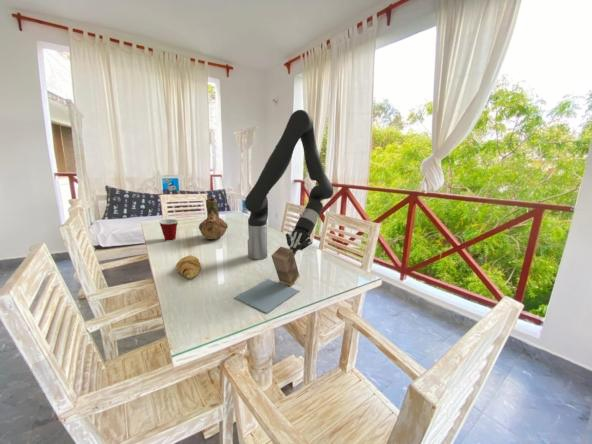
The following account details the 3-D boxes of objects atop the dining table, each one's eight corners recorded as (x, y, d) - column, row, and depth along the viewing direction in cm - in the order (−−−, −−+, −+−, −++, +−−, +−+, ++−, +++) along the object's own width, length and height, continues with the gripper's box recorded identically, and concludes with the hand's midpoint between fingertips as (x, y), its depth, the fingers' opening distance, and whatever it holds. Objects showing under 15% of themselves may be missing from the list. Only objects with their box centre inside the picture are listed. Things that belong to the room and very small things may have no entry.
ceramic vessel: (198, 246, 145) (194, 203, 139) (201, 234, 170) (197, 196, 163) (229, 244, 150) (226, 202, 144) (227, 232, 174) (225, 195, 168)
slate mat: (266, 313, 83) (266, 312, 83) (234, 298, 93) (234, 297, 93) (299, 291, 97) (299, 290, 97) (268, 279, 107) (268, 278, 107)
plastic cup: (175, 242, 153) (173, 222, 150) (157, 242, 153) (154, 222, 150) (183, 236, 163) (181, 218, 160) (166, 236, 163) (164, 218, 160)
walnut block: (291, 286, 101) (283, 259, 94) (279, 281, 105) (271, 255, 98) (299, 276, 105) (292, 249, 98) (288, 272, 109) (280, 246, 102)
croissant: (199, 286, 108) (207, 269, 108) (174, 281, 103) (183, 263, 102) (193, 267, 126) (200, 252, 126) (172, 261, 121) (179, 246, 121)
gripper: (291, 214, 110) (272, 249, 104) (317, 219, 103) (299, 256, 96) (298, 224, 116) (281, 257, 109) (323, 229, 108) (306, 265, 102)
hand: (289, 257), depth 103 cm, fingers closed
